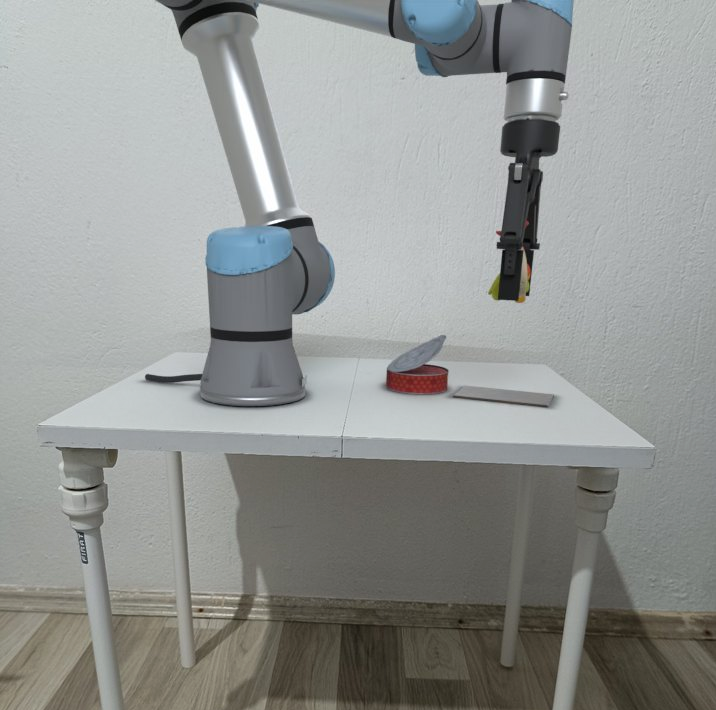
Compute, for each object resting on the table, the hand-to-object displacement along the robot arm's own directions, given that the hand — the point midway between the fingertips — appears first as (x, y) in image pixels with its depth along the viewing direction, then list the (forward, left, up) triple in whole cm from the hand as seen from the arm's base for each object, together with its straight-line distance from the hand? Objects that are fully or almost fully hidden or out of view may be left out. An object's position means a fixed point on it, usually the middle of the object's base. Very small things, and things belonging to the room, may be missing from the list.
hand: (514, 297), depth 95 cm
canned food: (-14, +1, -15) cm, 21 cm away
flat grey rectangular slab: (0, +1, -15) cm, 15 cm away
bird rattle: (0, 0, -1) cm, 1 cm away
